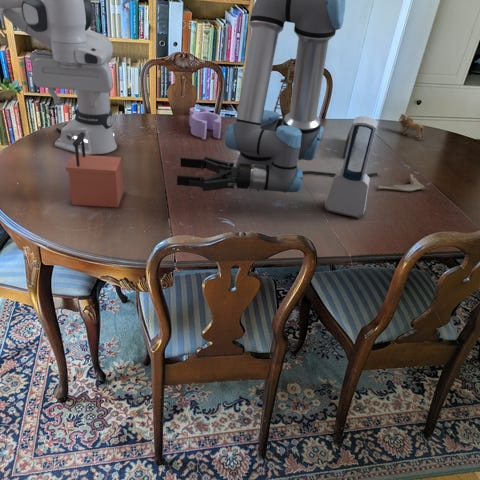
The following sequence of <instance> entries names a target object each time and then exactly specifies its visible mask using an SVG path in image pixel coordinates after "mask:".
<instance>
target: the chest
mask: <svg viewBox="0 0 480 480" xmlns="http://www.w3.org/2000/svg"><path fill="white" fill-rule="evenodd" d="M68 178H69V187H70V195H71V204H72V205H73V206H87V207H105V208H119V206H120V203H121V201H122V197H123V195H124V180H123V161H122V162H121V164H120V166H119V169H118V171H117V173H116V175H114V174H99V173H84V172H69V171H68Z"/></svg>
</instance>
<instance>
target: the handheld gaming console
mask: <svg viewBox="0 0 480 480" xmlns="http://www.w3.org/2000/svg"><path fill="white" fill-rule="evenodd" d="M352 125H353V123H352V124H351V127H350V129H349V131H348V133H347V135H346V136H347V137H346V141H345V146H344V150H343V154H342V158H343V159H345V155H346V151H347V146H348V142H349V138H350V133H351V129H352ZM359 129H360V126H359V127H357V131H356V136H355V140H354V144H353V147H354V145H355V144H356V141H357V136H358V133H359Z"/></svg>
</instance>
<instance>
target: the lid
mask: <svg viewBox="0 0 480 480" xmlns="http://www.w3.org/2000/svg"><path fill="white" fill-rule="evenodd" d="M84 137H85V134H84V133H83V132H81V133H80V134H79V135H78V137H77V138H76V139H75V141H74V142H73V146H74V147H75V153H74V154H73V155H72V157H71V158H70V160H69V161H68V163H67V165H66V166H65V172H68V173H69V172H84V173H99V174H114V175H116V173H117V171H118V169H119V166H120V164H121V162H122V163H123V160H122V159H123V158H122V157H118V156H106V155H105V156H104V155H103V156H102V155H85V146H84ZM80 143H81V145H82V155H80V154H79V153H78V146H79V144H80Z"/></svg>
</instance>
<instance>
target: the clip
mask: <svg viewBox="0 0 480 480" xmlns="http://www.w3.org/2000/svg"><path fill="white" fill-rule="evenodd" d="M188 119H189V120H188V121H189V122H188V125H189V127H190V134H191V135H193V136H195V137H197V138H201V140H206V139H207V130H211V131H213V132H212V137H213V138H215V139H218V140H219V139H221V131H222V116H221V115H219V114H217V113H215V112H211V111H210V109H209V108H206V107H203V106H200V107H199V111H196V108H195V107H190V108H189V118H188Z"/></svg>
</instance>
